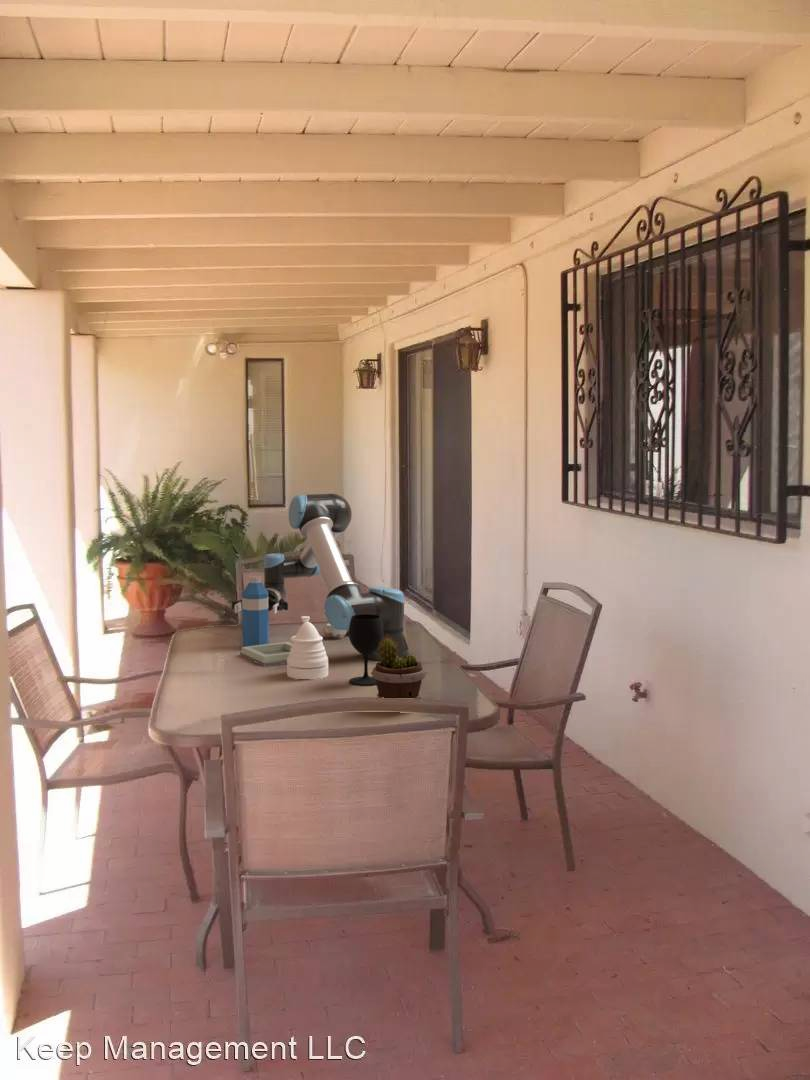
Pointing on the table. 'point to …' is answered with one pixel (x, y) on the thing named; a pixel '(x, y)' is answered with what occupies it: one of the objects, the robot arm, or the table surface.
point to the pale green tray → (268, 653)
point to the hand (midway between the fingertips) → (254, 609)
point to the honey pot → (307, 653)
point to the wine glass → (365, 642)
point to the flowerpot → (397, 673)
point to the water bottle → (255, 613)
